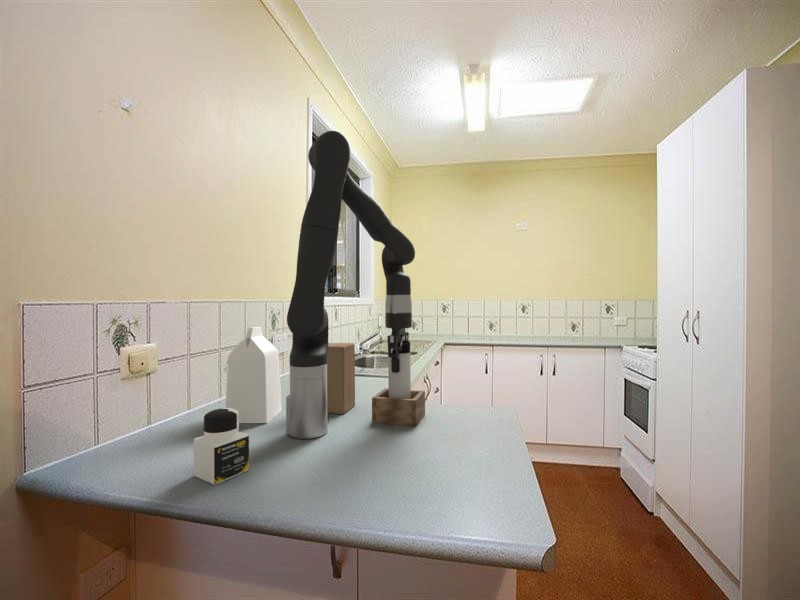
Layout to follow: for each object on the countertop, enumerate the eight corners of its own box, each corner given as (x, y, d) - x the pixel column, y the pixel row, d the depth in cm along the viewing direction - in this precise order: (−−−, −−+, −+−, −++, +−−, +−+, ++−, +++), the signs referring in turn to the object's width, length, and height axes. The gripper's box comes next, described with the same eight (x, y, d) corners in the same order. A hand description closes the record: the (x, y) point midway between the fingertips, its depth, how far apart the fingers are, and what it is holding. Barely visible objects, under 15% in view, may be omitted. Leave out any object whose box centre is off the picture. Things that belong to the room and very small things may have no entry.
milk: (266, 423, 99) (266, 328, 99) (224, 423, 99) (224, 328, 99) (281, 410, 111) (281, 325, 111) (244, 411, 111) (244, 326, 111)
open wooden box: (372, 422, 99) (371, 397, 99) (384, 410, 110) (384, 388, 110) (416, 426, 95) (416, 400, 96) (425, 413, 106) (424, 390, 106)
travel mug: (414, 409, 104) (414, 339, 105) (405, 415, 98) (404, 342, 99) (395, 406, 107) (394, 339, 107) (384, 412, 101) (384, 341, 101)
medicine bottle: (214, 486, 65) (214, 418, 65) (192, 476, 68) (192, 412, 69) (249, 470, 71) (249, 408, 71) (228, 462, 74) (227, 403, 75)
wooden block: (355, 405, 116) (355, 343, 116) (343, 414, 106) (343, 346, 107) (326, 403, 118) (326, 342, 119) (312, 412, 109) (312, 345, 109)
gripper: (393, 310, 111) (393, 365, 111) (377, 311, 97) (378, 374, 97) (417, 310, 109) (417, 366, 109) (404, 311, 95) (405, 375, 95)
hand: (398, 370), depth 103 cm, fingers closed on travel mug, 6 cm apart
